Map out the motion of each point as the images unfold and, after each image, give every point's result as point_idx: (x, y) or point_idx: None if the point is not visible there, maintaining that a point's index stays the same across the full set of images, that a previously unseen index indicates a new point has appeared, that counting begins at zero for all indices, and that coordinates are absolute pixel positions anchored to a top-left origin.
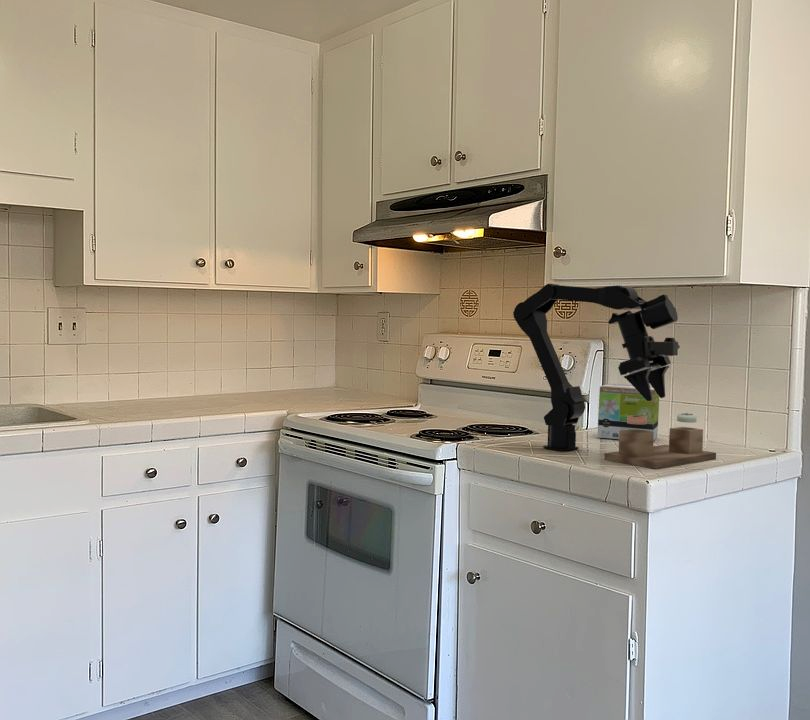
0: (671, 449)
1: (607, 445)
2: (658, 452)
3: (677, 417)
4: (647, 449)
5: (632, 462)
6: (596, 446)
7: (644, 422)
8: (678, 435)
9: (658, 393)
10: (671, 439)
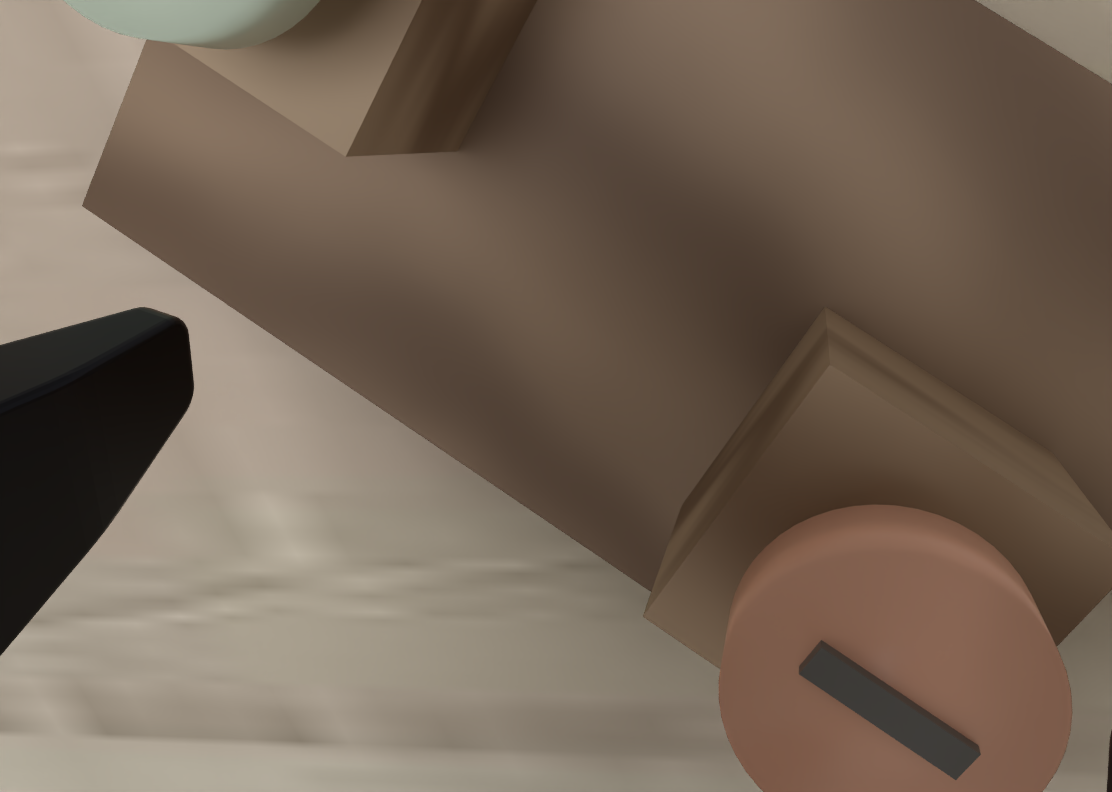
0: (465, 121)
1: (128, 681)
2: (617, 253)
3: (234, 34)
4: (922, 380)
5: None
6: (224, 765)
7: (988, 552)
8: (445, 28)
9: (116, 488)
10: (419, 124)
